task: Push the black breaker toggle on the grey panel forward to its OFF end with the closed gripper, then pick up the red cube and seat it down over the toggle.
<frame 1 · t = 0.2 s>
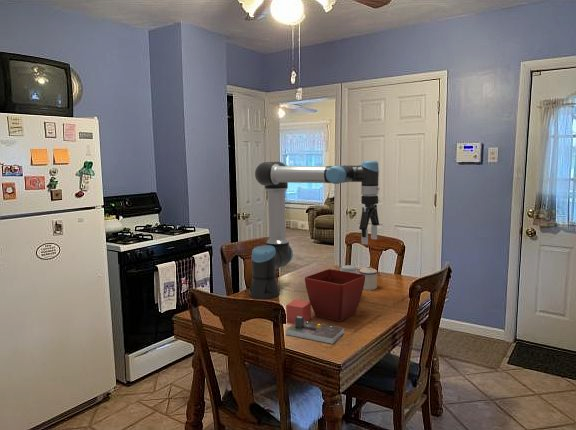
hand: (369, 241, 197), 28 cm above the table, tool pointing down, fingers open, 13 cm apart
teacup with lid: (365, 288, 221), on the table
plant pot: (335, 315, 183), on the table
breaker toggle: (299, 321, 164), point 4 cm above the table, slide at 0.0 cm
red cube: (298, 320, 177), on the table
breaker panel: (315, 333, 163), on the table
supplement can: (348, 298, 205), on the table
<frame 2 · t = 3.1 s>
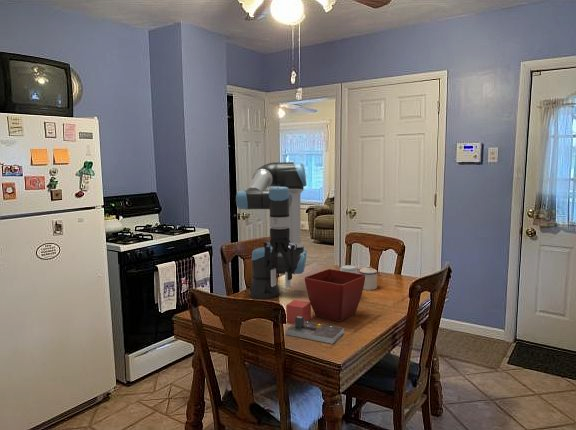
hand: (280, 286, 167), 17 cm above the table, tool pointing down, fingers open, 6 cm apart
nothing on the table moved.
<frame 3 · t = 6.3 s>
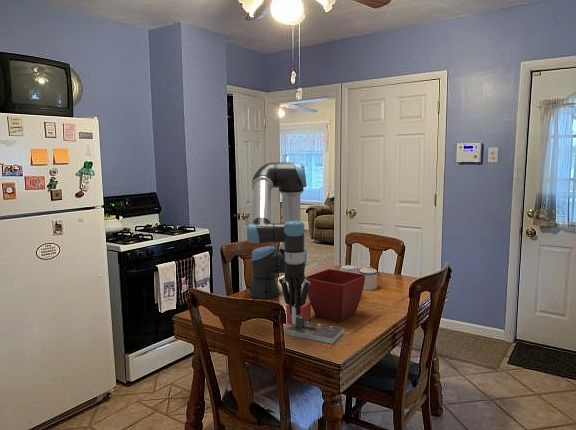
hand: (295, 322, 165), 4 cm above the table, tool pointing down, fingers closed
breaker toggle: (300, 321, 164), point 4 cm above the table, slide at 0.2 cm, touching gripper
everything else where it was.
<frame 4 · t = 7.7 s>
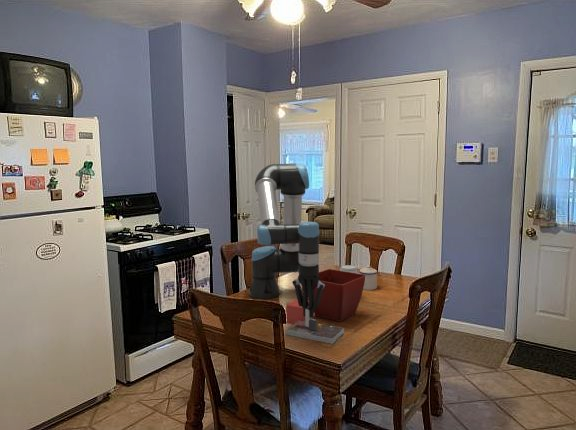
hand: (308, 324, 162), 4 cm above the table, tool pointing down, fingers closed
breaker toggle: (313, 324, 162), point 4 cm above the table, slide at 5.7 cm, touching gripper
everything else where it was.
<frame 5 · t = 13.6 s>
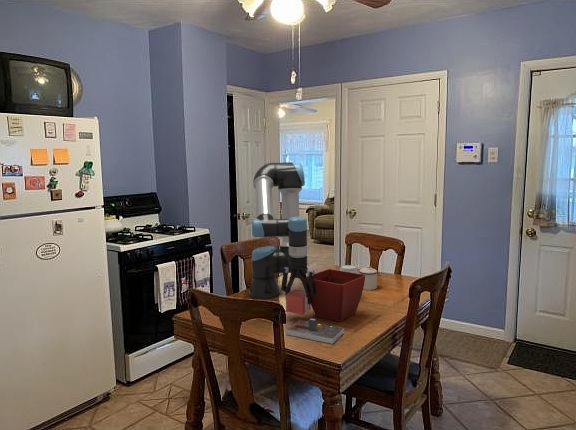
hand: (298, 309, 177), 4 cm above the table, tool pointing down, fingers closed on red cube, 7 cm apart
breaker toggle: (312, 324, 162), point 4 cm above the table, slide at 5.5 cm
red cube: (298, 310, 178), point 4 cm above the table, touching gripper
everything else where it was.
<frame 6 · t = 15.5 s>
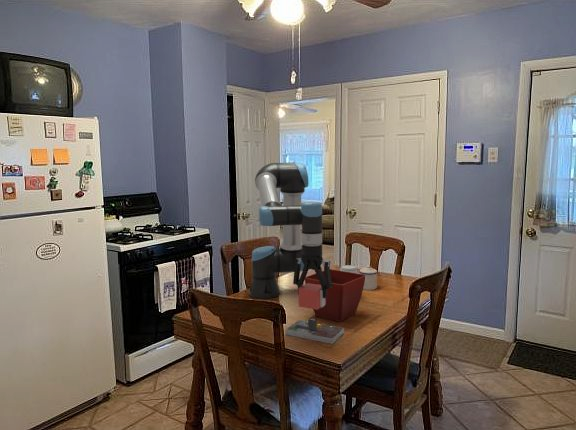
hand: (312, 304, 161), 12 cm above the table, tool pointing down, fingers closed on red cube, 7 cm apart
red cube: (312, 305, 161), point 12 cm above the table, touching gripper
everything else where it was.
when the fingers open (3 cm above the table, at t = 17.4 s): red cube stays where it is, resting on breaker panel.
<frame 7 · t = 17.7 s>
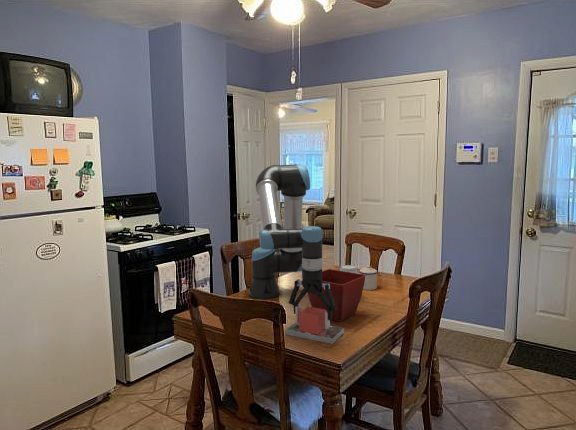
hand: (312, 325, 162), 4 cm above the table, tool pointing down, fingers open, 11 cm apart
red cube: (312, 329, 162), point 2 cm above the table, touching breaker panel
everything else where it was.
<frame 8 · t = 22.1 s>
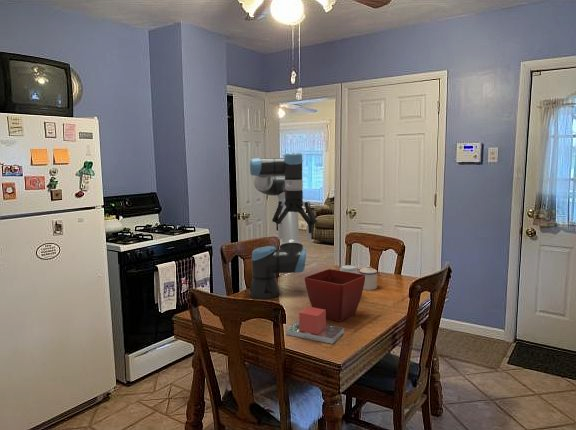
hand: (294, 239, 184), 32 cm above the table, tool pointing down, fingers open, 13 cm apart
nothing on the table moved.
at the end: breaker toggle slide at 5.5 cm; red cube 0.1 cm from the breaker toggle (horizontally); red cube point 2.2 cm above the table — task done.
